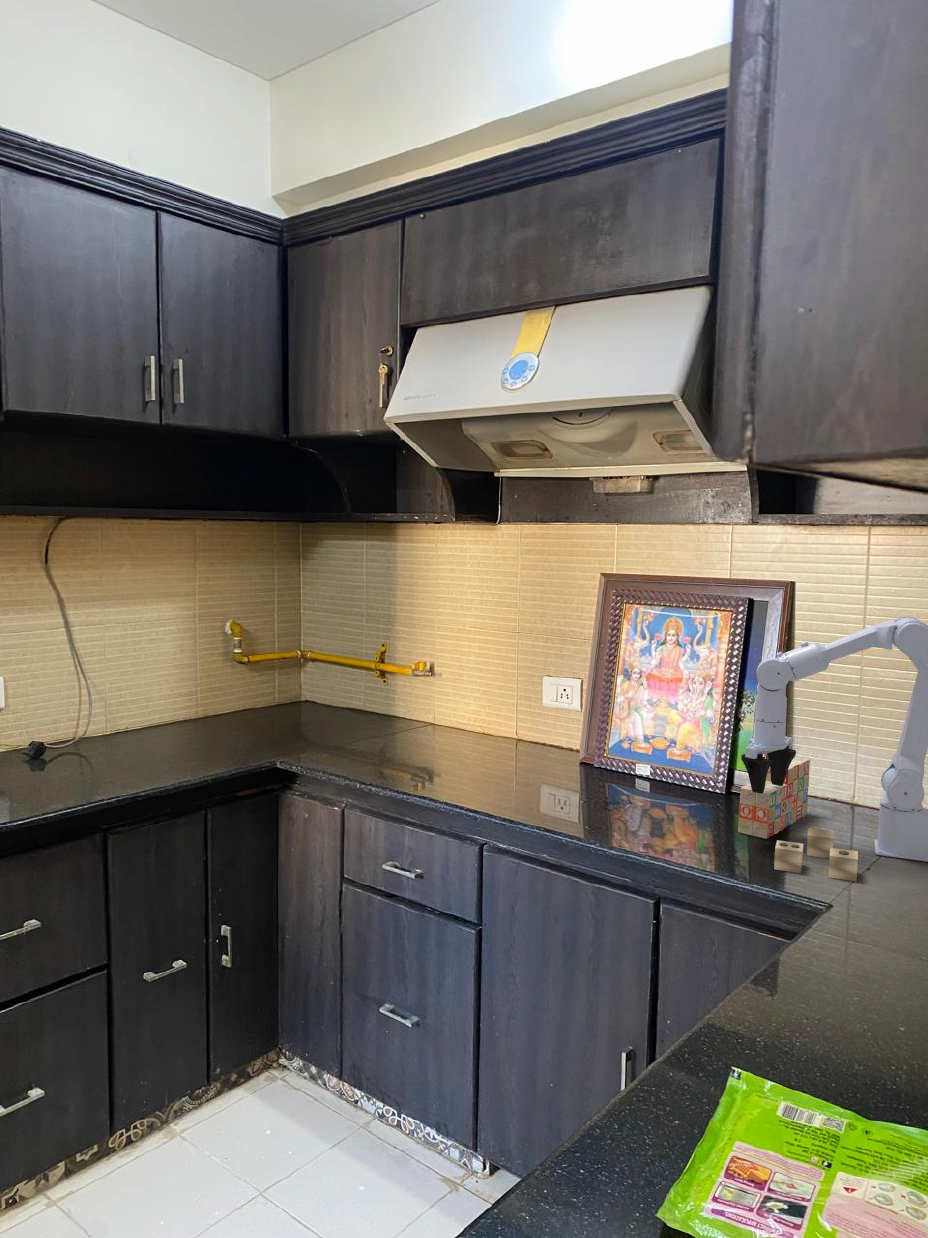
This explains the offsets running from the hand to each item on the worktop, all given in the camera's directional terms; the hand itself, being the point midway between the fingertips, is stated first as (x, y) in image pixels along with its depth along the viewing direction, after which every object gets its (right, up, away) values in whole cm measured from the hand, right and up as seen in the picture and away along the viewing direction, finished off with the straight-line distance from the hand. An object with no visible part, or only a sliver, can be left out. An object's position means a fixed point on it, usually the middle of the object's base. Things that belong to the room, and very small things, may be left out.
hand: (767, 788), depth 180 cm
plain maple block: (+7, -11, -8) cm, 15 cm away
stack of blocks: (+4, -9, +10) cm, 14 cm away
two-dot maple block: (-1, -11, -15) cm, 19 cm away
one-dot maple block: (+7, -12, -18) cm, 23 cm away
